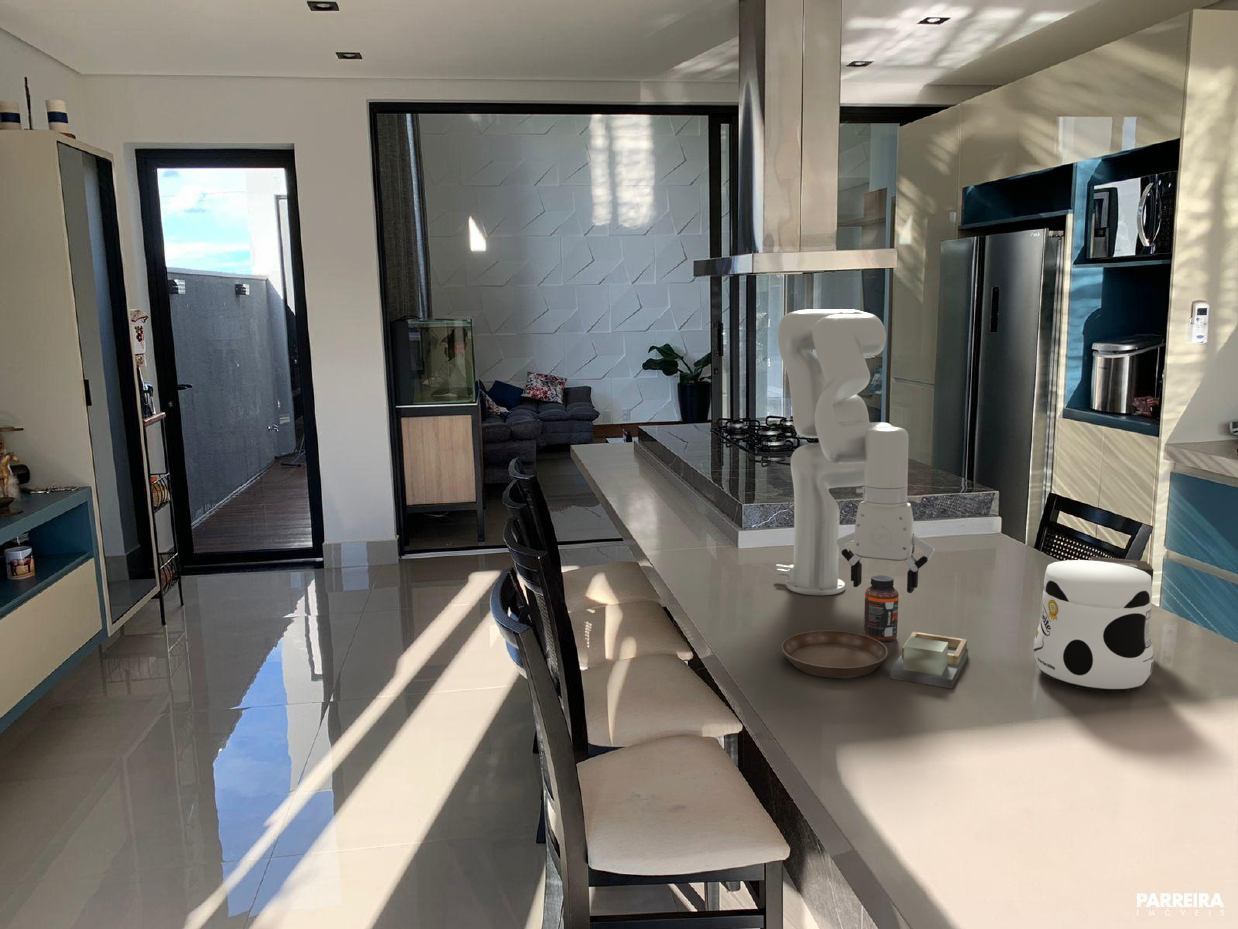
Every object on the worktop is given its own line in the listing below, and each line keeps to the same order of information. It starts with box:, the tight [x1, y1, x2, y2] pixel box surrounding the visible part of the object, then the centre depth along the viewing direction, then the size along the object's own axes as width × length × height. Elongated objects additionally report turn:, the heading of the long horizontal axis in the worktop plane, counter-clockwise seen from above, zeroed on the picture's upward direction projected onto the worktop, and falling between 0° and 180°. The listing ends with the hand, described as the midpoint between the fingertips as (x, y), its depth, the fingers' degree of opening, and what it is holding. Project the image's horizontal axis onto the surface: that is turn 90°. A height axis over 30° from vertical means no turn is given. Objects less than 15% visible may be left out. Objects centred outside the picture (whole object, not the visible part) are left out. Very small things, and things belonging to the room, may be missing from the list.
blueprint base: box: [890, 631, 969, 689], centre depth 159 cm, size 10×16×6 cm, turn 151°
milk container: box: [1033, 559, 1155, 693], centre depth 151 cm, size 17×17×18 cm
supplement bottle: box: [863, 574, 899, 642], centre depth 173 cm, size 6×6×11 cm
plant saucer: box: [781, 629, 888, 679], centre depth 162 cm, size 18×18×3 cm
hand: (883, 588), depth 172 cm, fingers open, 9 cm apart
